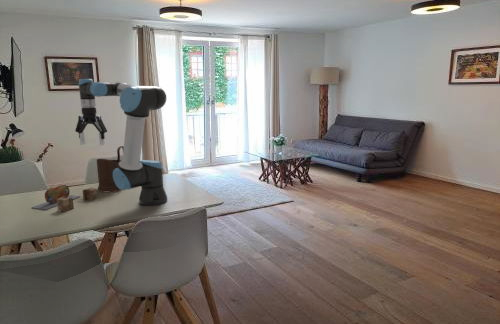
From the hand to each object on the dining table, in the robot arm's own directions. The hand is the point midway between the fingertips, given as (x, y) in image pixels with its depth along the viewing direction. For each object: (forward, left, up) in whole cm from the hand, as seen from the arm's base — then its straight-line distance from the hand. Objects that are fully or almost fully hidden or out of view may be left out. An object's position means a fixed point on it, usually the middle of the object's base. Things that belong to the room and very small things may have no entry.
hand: (92, 144), depth 207 cm
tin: (+13, +16, -30) cm, 37 cm away
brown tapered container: (+4, -21, -31) cm, 37 cm away
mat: (+13, +17, -31) cm, 37 cm away
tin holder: (-1, +16, -31) cm, 34 cm away
